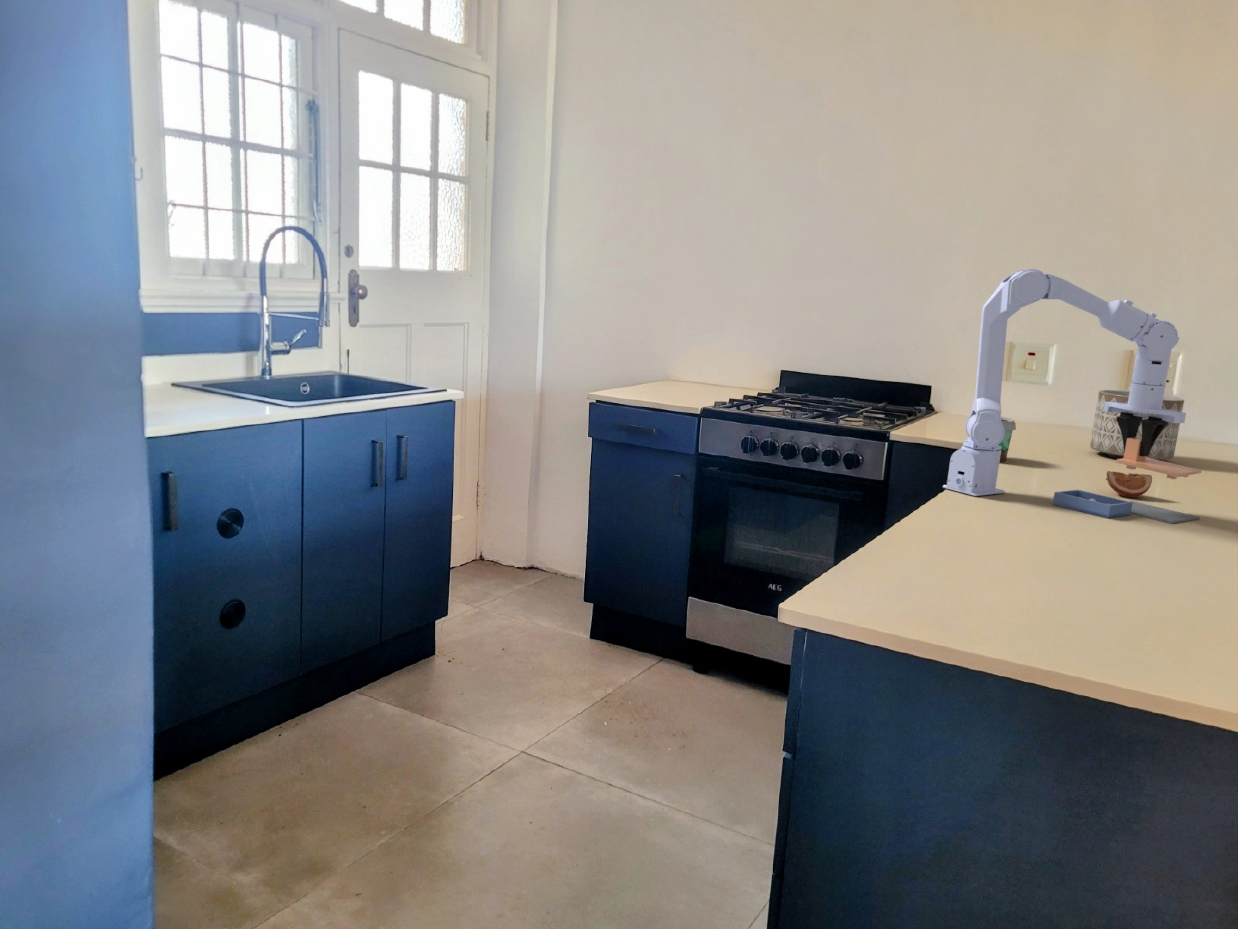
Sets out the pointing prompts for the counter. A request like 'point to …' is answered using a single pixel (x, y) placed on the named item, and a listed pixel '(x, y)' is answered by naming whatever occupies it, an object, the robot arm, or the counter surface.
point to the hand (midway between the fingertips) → (1136, 454)
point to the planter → (1110, 436)
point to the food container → (1006, 436)
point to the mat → (1160, 513)
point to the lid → (1152, 462)
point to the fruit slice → (1129, 483)
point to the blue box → (1092, 503)
